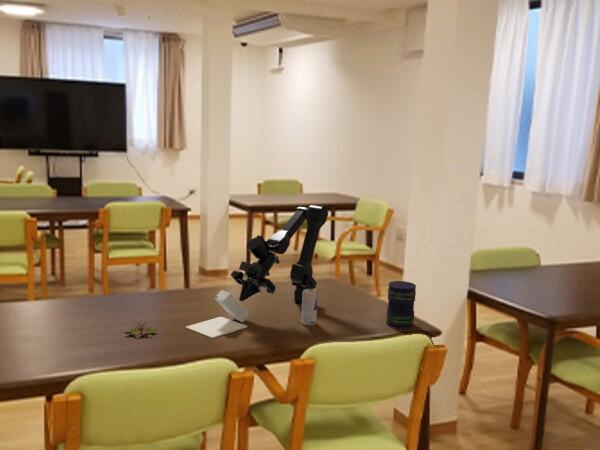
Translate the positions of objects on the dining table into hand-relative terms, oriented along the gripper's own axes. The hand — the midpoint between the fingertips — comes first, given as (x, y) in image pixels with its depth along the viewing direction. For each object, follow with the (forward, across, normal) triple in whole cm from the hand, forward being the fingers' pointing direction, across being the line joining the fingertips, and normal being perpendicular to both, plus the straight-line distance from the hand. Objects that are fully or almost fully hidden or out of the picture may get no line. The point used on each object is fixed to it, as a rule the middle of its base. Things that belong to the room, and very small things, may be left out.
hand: (240, 300), depth 215 cm
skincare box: (+4, 0, +5) cm, 6 cm away
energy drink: (-6, +19, +17) cm, 26 cm away
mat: (+13, 0, -2) cm, 13 cm away
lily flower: (+29, -13, -17) cm, 36 cm away
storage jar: (-23, +42, +33) cm, 58 cm away
